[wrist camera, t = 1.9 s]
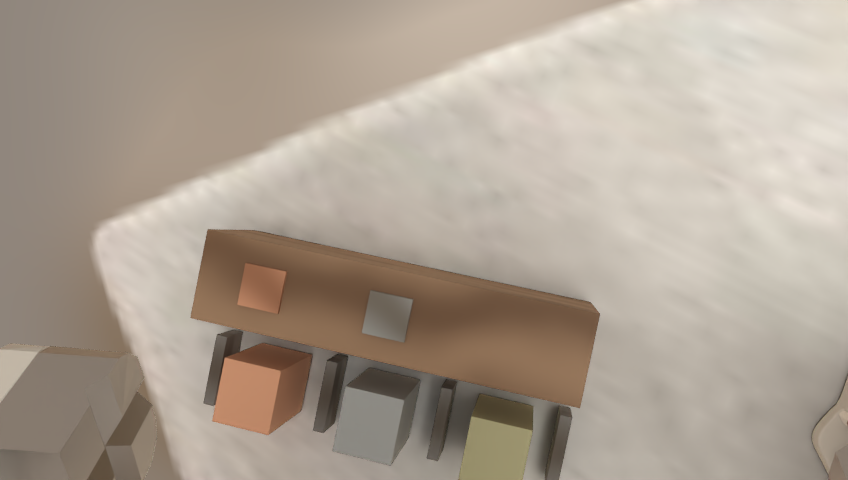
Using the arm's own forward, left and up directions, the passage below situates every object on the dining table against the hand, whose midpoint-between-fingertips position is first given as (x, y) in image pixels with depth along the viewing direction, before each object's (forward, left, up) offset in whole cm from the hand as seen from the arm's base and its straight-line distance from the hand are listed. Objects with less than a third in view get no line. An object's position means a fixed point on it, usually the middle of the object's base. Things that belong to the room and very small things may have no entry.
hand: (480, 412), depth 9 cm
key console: (-3, +11, -51) cm, 52 cm away
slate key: (-7, +13, -51) cm, 53 cm away
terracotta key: (-3, +20, -51) cm, 55 cm away
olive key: (-11, +5, -51) cm, 52 cm away
